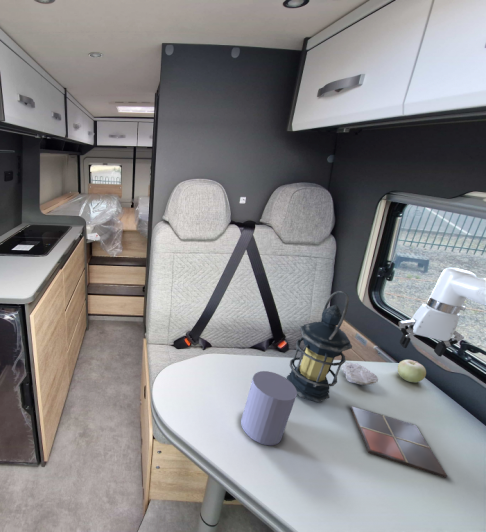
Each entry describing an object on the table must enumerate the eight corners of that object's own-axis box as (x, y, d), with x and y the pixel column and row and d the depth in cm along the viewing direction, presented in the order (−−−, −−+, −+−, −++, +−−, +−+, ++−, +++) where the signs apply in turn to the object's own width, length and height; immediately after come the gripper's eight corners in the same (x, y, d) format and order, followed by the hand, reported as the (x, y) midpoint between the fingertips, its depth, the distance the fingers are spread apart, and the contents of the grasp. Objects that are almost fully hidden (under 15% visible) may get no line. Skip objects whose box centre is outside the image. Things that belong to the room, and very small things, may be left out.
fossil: (354, 383, 99) (342, 355, 107) (346, 392, 104) (334, 365, 111) (383, 385, 98) (369, 357, 106) (374, 394, 103) (360, 366, 110)
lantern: (280, 371, 106) (309, 279, 94) (323, 383, 103) (359, 288, 90) (285, 400, 94) (320, 297, 81) (334, 414, 90) (378, 309, 78)
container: (238, 435, 80) (250, 389, 75) (243, 408, 89) (254, 366, 84) (281, 453, 76) (297, 406, 71) (281, 423, 85) (296, 380, 80)
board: (414, 427, 88) (415, 424, 87) (445, 478, 74) (447, 475, 73) (350, 408, 93) (351, 405, 92) (368, 453, 78) (369, 450, 78)
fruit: (425, 389, 104) (435, 369, 101) (400, 382, 106) (409, 363, 103) (414, 374, 111) (423, 356, 108) (390, 369, 113) (398, 351, 110)
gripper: (469, 307, 99) (445, 351, 105) (405, 294, 104) (385, 337, 110) (485, 318, 92) (457, 364, 99) (415, 304, 98) (394, 348, 104)
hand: (419, 349), depth 105 cm, fingers open, 9 cm apart
